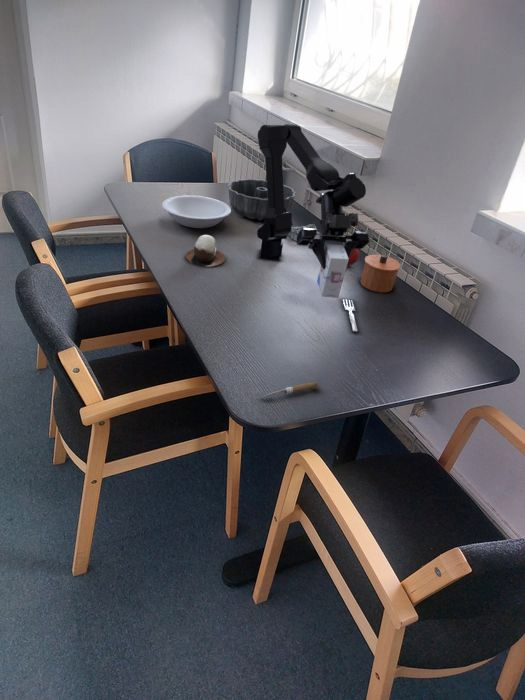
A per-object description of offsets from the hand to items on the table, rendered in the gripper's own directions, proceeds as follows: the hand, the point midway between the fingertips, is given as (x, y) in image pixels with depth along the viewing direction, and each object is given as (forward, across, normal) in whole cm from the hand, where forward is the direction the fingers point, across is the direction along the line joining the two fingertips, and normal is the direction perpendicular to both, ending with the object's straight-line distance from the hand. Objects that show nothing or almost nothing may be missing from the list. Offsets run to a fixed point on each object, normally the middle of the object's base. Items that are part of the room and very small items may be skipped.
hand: (334, 269), depth 127 cm
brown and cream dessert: (-12, -32, +29) cm, 44 cm away
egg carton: (-27, +5, +44) cm, 52 cm away
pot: (-3, +21, +19) cm, 28 cm away
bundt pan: (-43, -8, +61) cm, 75 cm away
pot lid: (-8, +21, +14) cm, 26 cm away
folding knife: (+34, -18, -18) cm, 43 cm away
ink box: (+4, 0, +6) cm, 7 cm away
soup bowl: (-32, -34, +50) cm, 68 cm away
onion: (-12, +15, +29) cm, 34 cm away
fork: (+11, +6, +5) cm, 14 cm away
